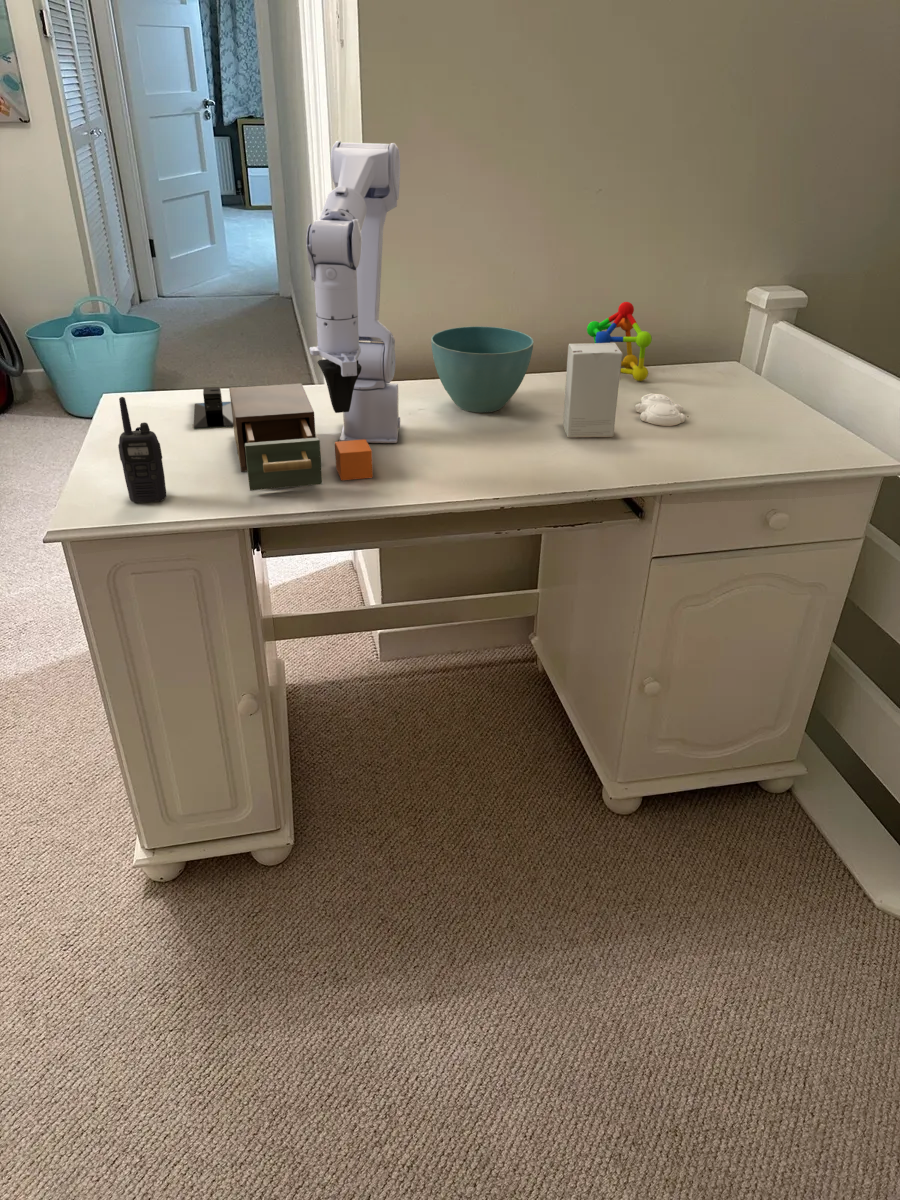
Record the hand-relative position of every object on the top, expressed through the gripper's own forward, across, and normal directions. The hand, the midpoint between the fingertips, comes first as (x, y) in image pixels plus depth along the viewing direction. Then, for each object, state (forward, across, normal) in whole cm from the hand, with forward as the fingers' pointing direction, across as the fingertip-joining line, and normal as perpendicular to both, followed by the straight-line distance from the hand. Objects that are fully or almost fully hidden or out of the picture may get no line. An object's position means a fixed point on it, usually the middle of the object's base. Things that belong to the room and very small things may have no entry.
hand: (341, 410), depth 125 cm
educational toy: (+11, -37, +64) cm, 75 cm away
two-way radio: (+10, 0, -28) cm, 30 cm away
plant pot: (+11, -26, +31) cm, 42 cm away
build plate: (+11, -32, -16) cm, 37 cm away
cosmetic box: (+11, -8, +44) cm, 46 cm away
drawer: (+9, 0, -9) cm, 13 cm away
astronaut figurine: (+11, -13, +62) cm, 64 cm away
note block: (+10, -1, +2) cm, 11 cm away
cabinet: (+10, -13, -9) cm, 19 cm away
